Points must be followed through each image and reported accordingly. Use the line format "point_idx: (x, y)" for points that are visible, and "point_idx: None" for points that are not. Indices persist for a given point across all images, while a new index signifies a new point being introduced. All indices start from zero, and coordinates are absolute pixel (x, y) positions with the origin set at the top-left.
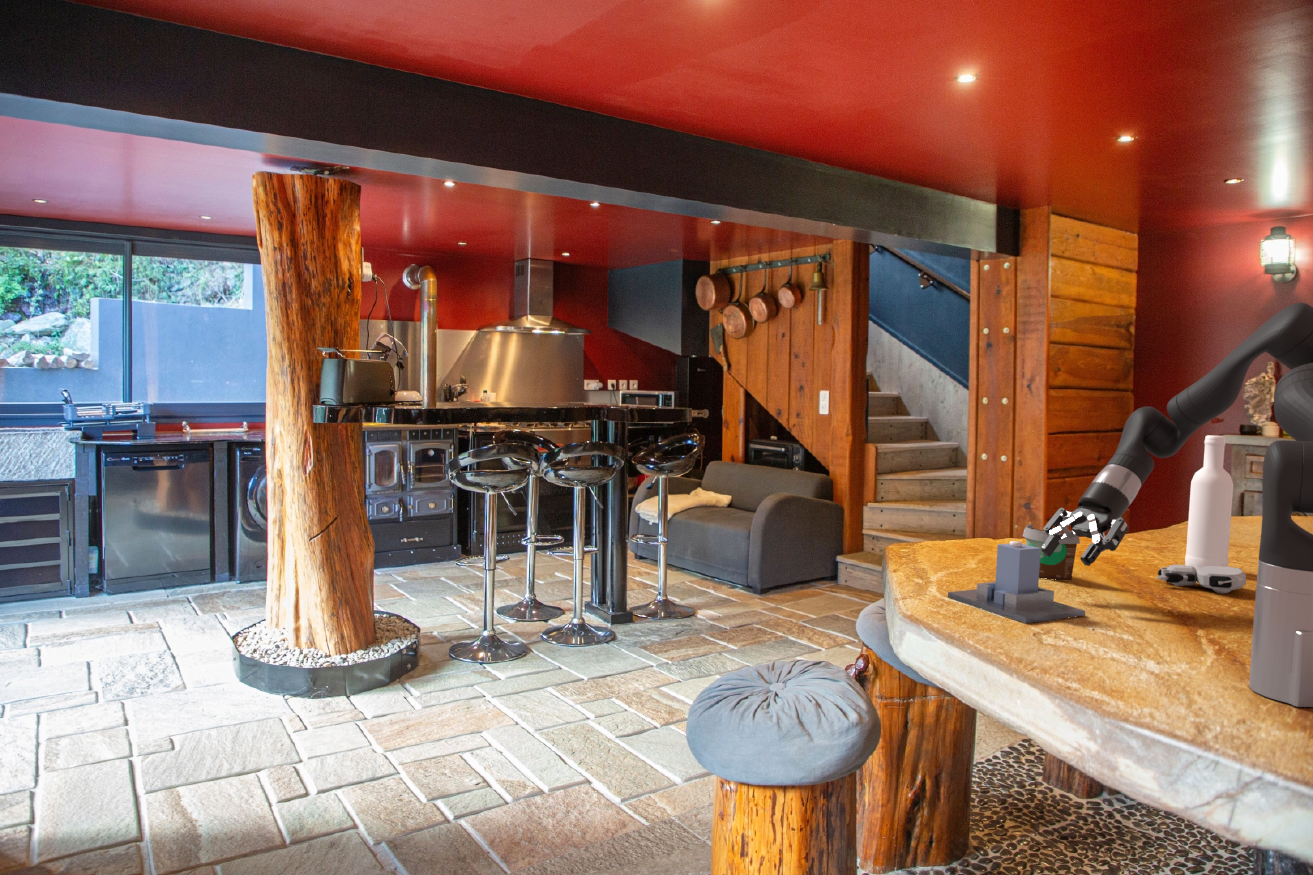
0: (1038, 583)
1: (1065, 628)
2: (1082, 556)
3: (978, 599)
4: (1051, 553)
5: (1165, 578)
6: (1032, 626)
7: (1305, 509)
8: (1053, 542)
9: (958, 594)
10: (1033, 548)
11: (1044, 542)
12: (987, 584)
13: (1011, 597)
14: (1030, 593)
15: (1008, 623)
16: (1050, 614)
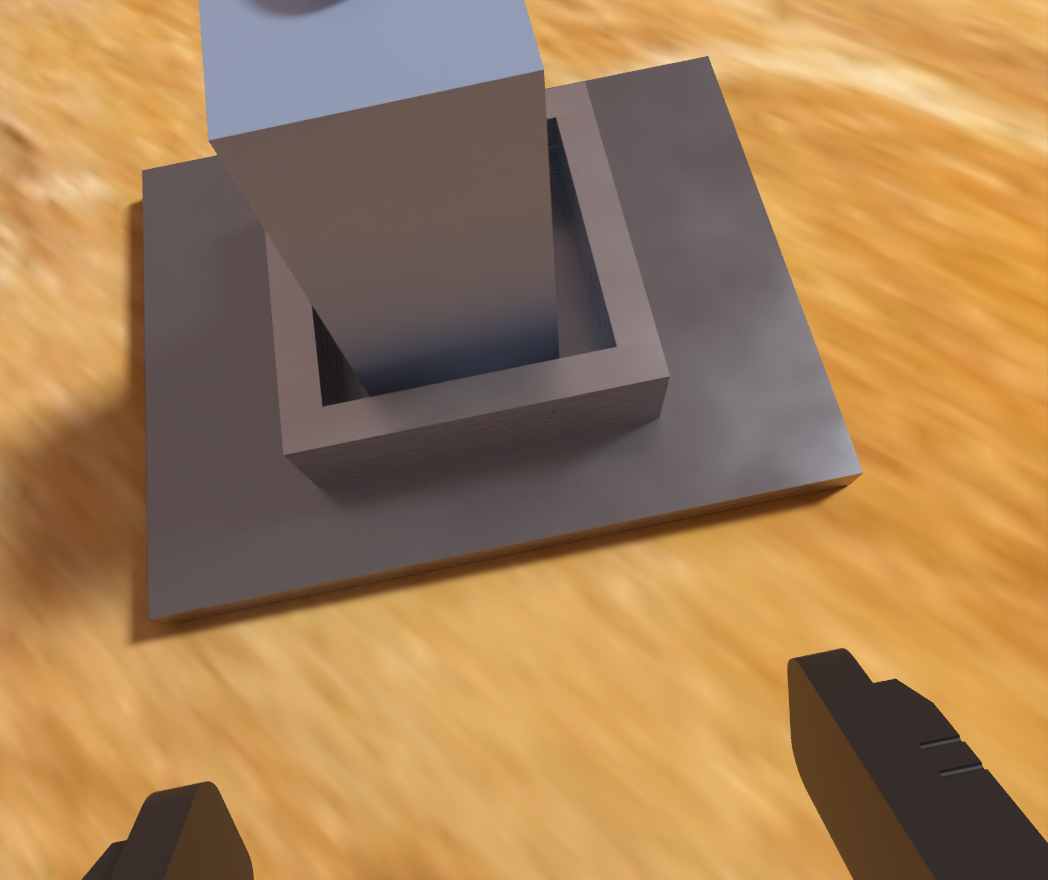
0: (338, 345)
1: (27, 333)
2: (176, 801)
3: None
4: (819, 807)
5: None
6: (115, 199)
7: None
8: (895, 869)
9: (651, 84)
10: (212, 59)
11: (979, 761)
12: (560, 133)
13: None
14: (277, 256)
15: (193, 123)
16: (150, 331)
